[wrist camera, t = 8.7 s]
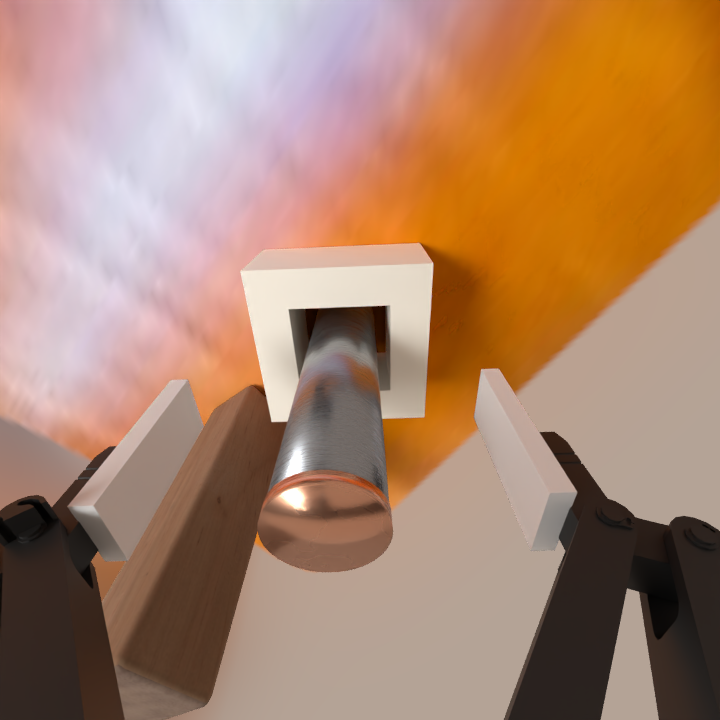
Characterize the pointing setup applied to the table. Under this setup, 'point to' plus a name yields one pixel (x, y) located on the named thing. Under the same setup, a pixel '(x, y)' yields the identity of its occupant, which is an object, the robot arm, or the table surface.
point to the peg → (332, 454)
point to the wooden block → (192, 565)
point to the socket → (342, 289)
